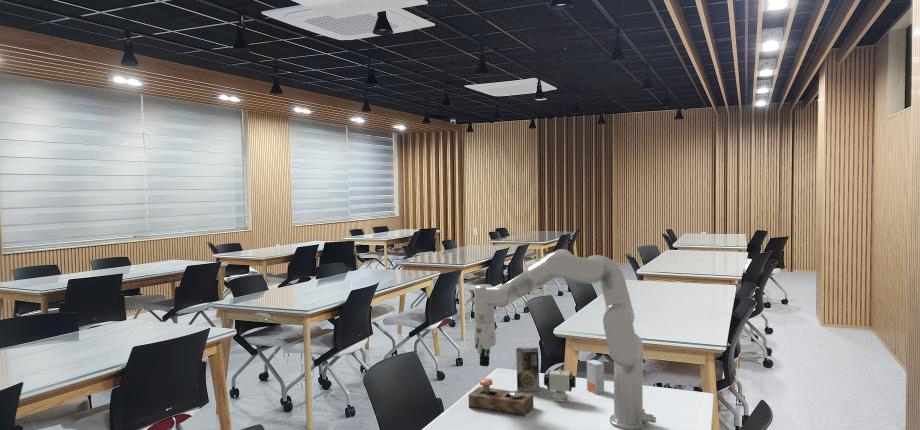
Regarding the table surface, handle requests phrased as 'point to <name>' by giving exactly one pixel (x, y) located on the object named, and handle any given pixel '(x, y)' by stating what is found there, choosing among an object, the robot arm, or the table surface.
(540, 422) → the table surface
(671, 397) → the table surface
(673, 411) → the table surface
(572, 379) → the pneumatic valve
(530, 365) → the coffee box
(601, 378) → the skincare box
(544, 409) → the table surface
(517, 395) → the steel plug
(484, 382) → the terracotta plug
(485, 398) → the plug box
